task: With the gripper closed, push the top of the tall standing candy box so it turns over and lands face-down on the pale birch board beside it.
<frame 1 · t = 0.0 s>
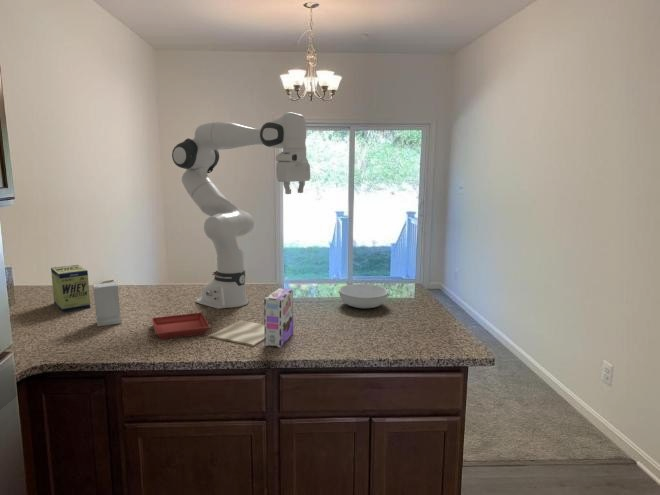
hand: (294, 193, 180), 48 cm above the worktop, fingers open, 8 cm apart
skincare box: (108, 323, 173), on the worktop
plant saucer: (180, 331, 168), on the worktop
candy box: (279, 340, 160), on the worktop
serving bowl: (363, 306, 201), on the worktop
protein box: (72, 306, 194), on the worktop
birch board: (246, 333, 165), on the worktop
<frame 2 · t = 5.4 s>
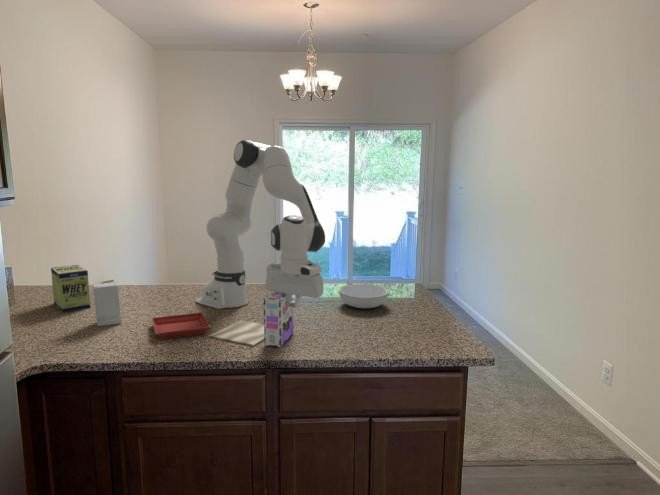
hand: (293, 306, 155), 12 cm above the worktop, fingers closed
candy box: (279, 340, 160), on the worktop, touching gripper
everything else where it was.
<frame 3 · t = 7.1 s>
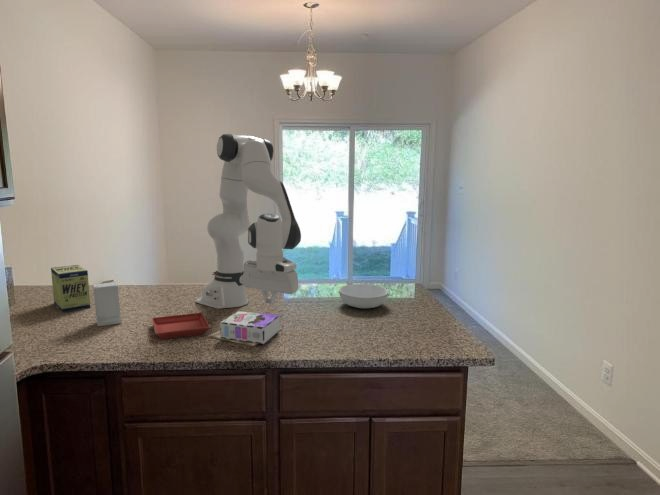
hand: (269, 303, 159), 12 cm above the worktop, fingers closed
candy box: (273, 329, 160), point 4 cm above the worktop, touching birch board
everything else where it was.
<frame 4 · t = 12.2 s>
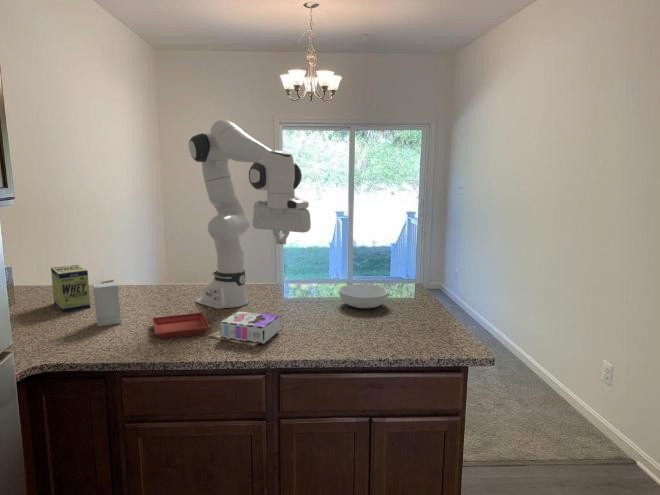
hand: (281, 244, 154), 33 cm above the worktop, fingers closed
nothing on the worktop moved.
at the end: candy box tilted 90°; candy box inside the target area (8.2 cm from its centre), point 3.5 cm above the worktop; the gripper is holding nothing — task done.
